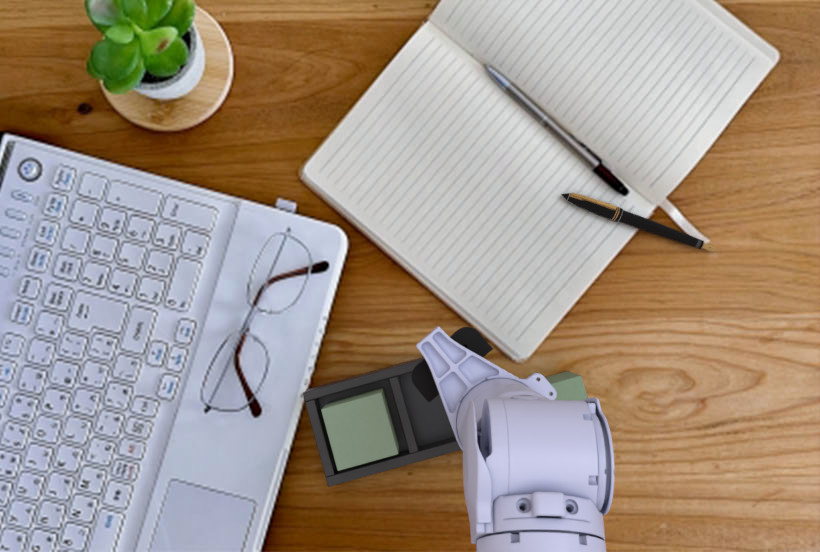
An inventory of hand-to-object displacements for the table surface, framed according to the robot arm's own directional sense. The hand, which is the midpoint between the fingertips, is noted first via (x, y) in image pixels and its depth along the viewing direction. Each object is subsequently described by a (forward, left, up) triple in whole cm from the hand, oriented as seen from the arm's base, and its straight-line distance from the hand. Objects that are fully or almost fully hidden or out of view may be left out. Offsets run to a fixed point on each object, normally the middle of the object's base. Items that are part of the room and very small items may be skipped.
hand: (487, 407), depth 61 cm
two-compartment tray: (0, +6, -9) cm, 11 cm away
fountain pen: (+10, -18, -10) cm, 23 cm away
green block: (-3, -6, -9) cm, 11 cm away
